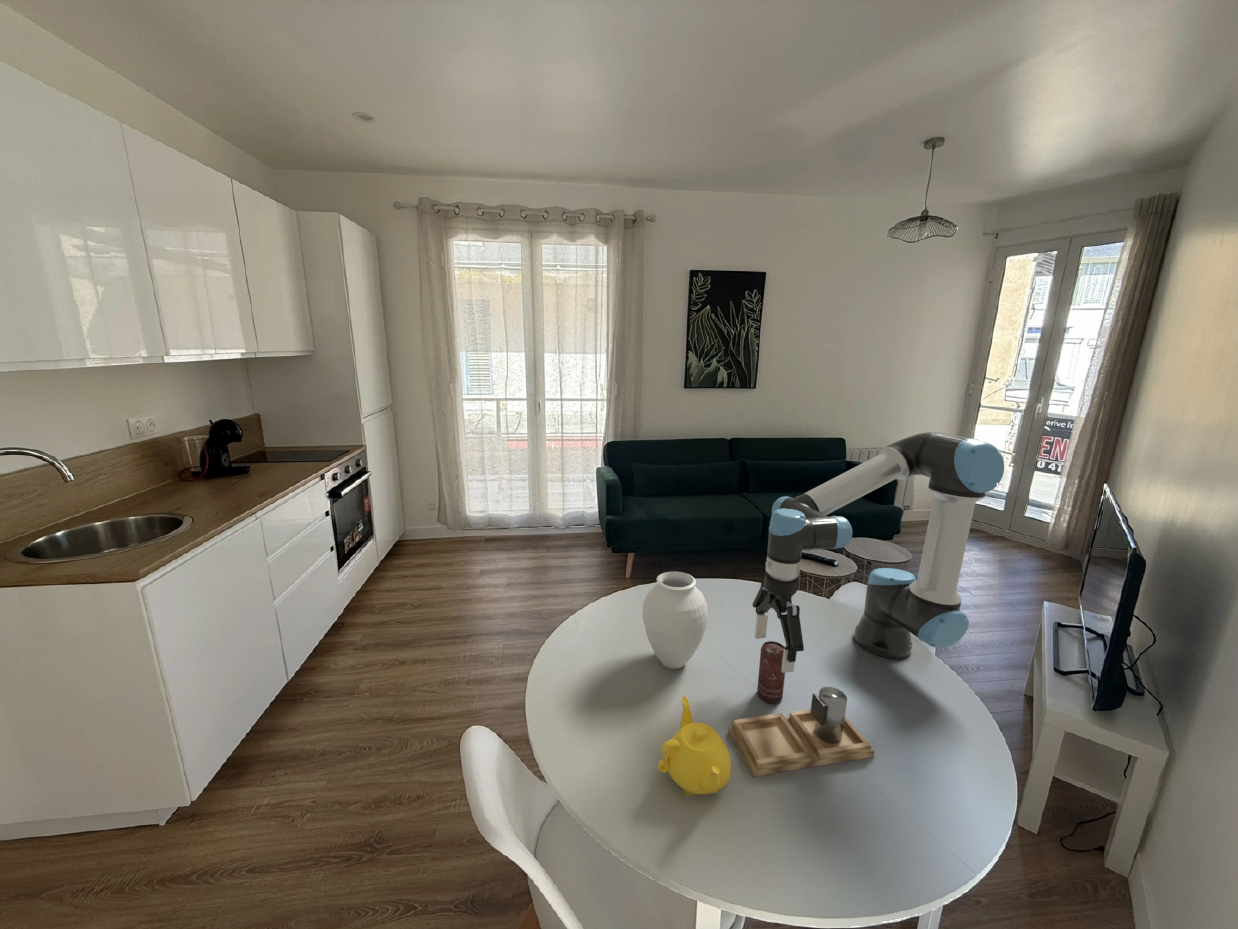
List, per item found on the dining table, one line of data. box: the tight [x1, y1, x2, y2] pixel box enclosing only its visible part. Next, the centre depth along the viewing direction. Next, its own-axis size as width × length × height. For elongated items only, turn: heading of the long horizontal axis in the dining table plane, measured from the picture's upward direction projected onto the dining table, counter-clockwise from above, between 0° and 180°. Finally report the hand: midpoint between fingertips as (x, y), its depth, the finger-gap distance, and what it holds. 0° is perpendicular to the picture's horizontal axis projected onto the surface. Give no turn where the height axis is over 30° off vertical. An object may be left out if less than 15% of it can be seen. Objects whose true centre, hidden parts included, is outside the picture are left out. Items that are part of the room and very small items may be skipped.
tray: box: [728, 708, 875, 777], centre depth 105 cm, size 28×12×3 cm, turn 101°
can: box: [756, 640, 786, 705], centre depth 119 cm, size 6×6×14 cm
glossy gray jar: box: [810, 686, 848, 744], centre depth 105 cm, size 6×6×10 cm
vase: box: [642, 570, 709, 670], centre depth 131 cm, size 18×18×25 cm
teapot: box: [657, 695, 732, 797], centre depth 96 cm, size 20×15×12 cm
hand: (773, 653), depth 117 cm, fingers open, 13 cm apart
